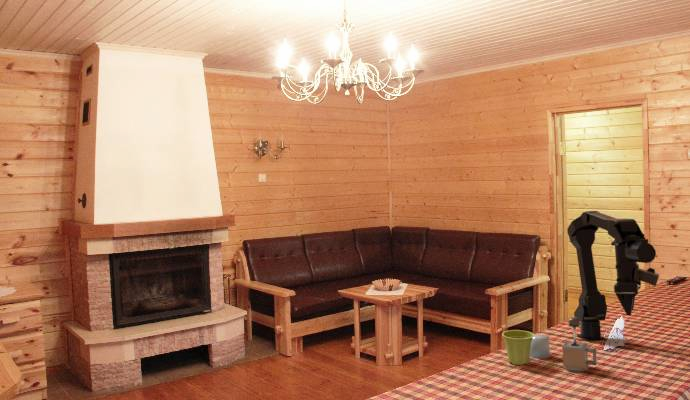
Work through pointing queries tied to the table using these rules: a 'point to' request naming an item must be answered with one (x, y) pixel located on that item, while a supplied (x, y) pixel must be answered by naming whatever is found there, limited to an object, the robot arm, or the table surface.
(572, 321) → the plunger
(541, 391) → the table surface
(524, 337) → the plant pot
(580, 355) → the press carafe
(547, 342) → the grey rounded cylinder
